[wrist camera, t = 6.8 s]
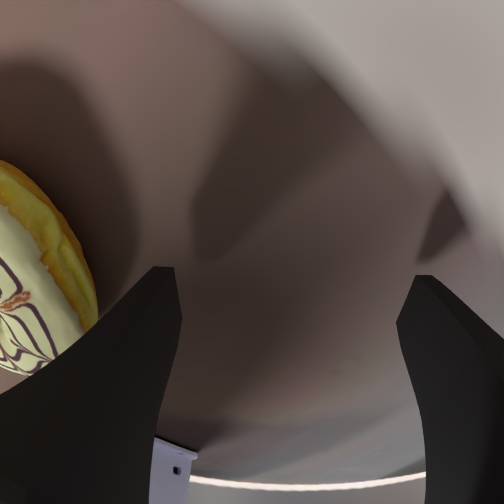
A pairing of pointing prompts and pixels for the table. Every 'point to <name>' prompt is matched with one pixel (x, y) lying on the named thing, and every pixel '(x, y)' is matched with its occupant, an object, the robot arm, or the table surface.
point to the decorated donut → (39, 278)
